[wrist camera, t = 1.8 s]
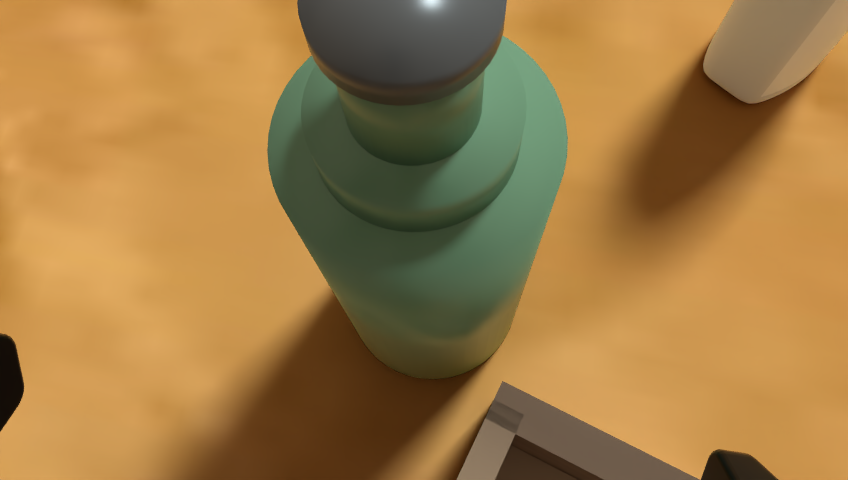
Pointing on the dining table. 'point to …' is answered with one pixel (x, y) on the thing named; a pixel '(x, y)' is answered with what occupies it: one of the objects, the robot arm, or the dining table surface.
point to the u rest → (552, 447)
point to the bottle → (419, 172)
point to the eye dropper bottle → (772, 45)
